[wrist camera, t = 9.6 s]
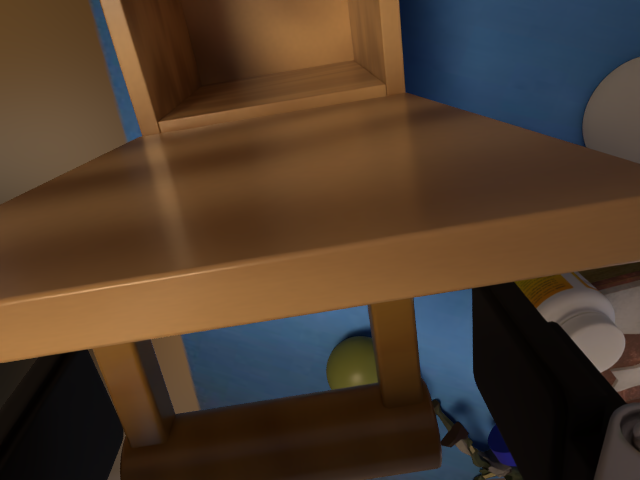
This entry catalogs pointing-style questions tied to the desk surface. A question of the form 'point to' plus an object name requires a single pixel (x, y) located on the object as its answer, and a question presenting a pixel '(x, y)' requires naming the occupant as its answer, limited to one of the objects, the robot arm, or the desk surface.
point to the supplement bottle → (578, 314)
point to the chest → (252, 57)
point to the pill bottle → (615, 114)
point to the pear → (352, 363)
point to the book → (622, 323)
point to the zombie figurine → (474, 450)
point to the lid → (297, 266)
